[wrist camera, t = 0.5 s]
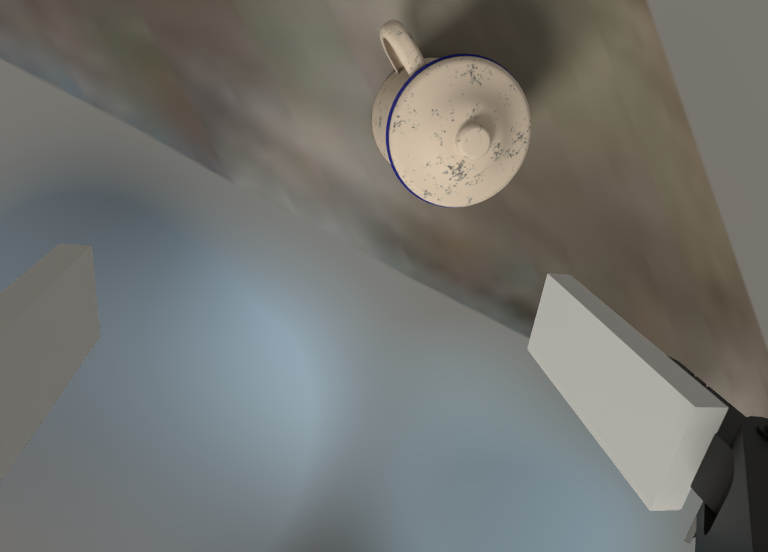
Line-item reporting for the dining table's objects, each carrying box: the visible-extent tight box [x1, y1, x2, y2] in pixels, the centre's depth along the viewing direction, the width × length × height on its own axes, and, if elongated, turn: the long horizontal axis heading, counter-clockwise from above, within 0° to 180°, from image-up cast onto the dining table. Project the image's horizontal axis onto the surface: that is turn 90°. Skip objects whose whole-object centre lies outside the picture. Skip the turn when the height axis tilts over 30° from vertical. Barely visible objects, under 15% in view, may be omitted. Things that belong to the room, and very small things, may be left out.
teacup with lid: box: [372, 20, 531, 208], centre depth 33 cm, size 12×9×12 cm
